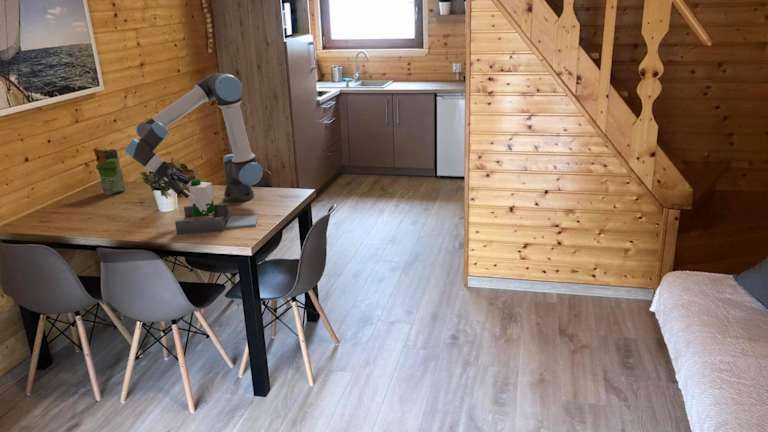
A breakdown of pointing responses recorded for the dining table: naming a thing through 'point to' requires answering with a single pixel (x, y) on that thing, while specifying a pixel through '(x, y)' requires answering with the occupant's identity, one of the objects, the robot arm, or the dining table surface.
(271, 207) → the dining table surface
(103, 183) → the pouch
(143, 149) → the robot arm
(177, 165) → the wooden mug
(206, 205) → the soya milk
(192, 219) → the offcut stack
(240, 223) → the mat
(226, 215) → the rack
